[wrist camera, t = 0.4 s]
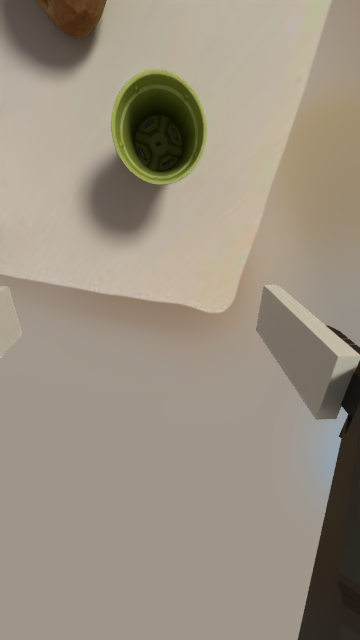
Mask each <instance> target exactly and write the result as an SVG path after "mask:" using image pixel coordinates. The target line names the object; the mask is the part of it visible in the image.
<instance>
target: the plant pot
mask: <svg viewBox="0 0 360 640" xmlns="http://www.w3.org/2000/svg"><path fill="white" fill-rule="evenodd" d="M150 121H153V122H154V123H153V124H151V125H149V126H148V127H147V128H146V129H145V128H144V127H145V125H146V124H147V123H148V122H150ZM172 128H173V129H174V130H175V131H176V134H177V137H178V139H177V140H175V137H174V134H173V132H172V131H171V129H172ZM111 130H112V137H113V142H114V145H115V148H116V151H117V153H118V155H119V157H120V159H121V160H122V162H123V163H124V165H125V166H126V167H127V168H128V169H129V170H130V171H131V172H132V173H133V174H134V175H135V176H137V177H138V178H140V179H142V180H143V181H146V182H148V183H152V184H157V185H167V184H172V183H175V182H177V181H179V180H181V179H183V178H184V177H186V176H187V175H188V174H189V173H190V172H191V171H192V170H193V169H194V168H195V167H196V165H197V164H198V162H199V160H200V158H201V156H202V154H203V151H204V148H205V144H206V137H207V124H206V117H205V113H204V109H203V107H202V104H201V102H200V100H199V98H198V96H197V94H196V93H195V91H194V90H193V89H192V87H191V86H190V85H189V84H188V83H187V82H186V81H185V80H184V79H182V78H181V77H179V76H178V75H176V74H174V73H172V72H170V71H167V70H162V69H150V70H146V71H143V72H140V73H138V74H137V75H135V76H134V77H132V78H131V79H130V80H129V81H128V82H127V83H126V84H125V85H124V86H123V88H122V89H121V91H120V92H119V94H118V96H117V98H116V101H115V104H114V107H113V112H112V119H111ZM157 142H160V143H161V145H160V146H157ZM140 149H142V150H143V153H144V155H145V157H146V158H147V159H144V158H143V157H142V155H141V153H140ZM170 159H172V162H171V163H169V164H168V165H167V166H163V164H164V163H166V162H168V161H169V160H170Z"/></svg>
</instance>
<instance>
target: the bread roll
mask: <svg viewBox="0 0 360 640" xmlns="http://www.w3.org/2000/svg"><path fill="white" fill-rule="evenodd" d="M37 1H38V3H39V4H40V6H41V7H42V8H43V10H44V11H45V12H46V13H47V15H48V16H49V17H50V18H51V20H52V21H53V22H54V23H55V25H56V26H57V27H58V28H59V29H61V30H62V31H63V32H65V33H66V34H68V35H70V36H71V37H74V38H83V37H85V36H87V35H88V34H89V33H90V32H91V31H92V30H93V29H94V28H95V26H96V25H97V23H98V21H99V20H100V17H101V15H102V13H103V10H104V7H105V4H106V0H37Z"/></svg>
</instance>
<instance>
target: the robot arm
mask: <svg viewBox="0 0 360 640" xmlns="http://www.w3.org/2000/svg"><path fill="white" fill-rule="evenodd" d="M256 330H257V332H258V333H259V335H260V336H261V338H262V339H263V341H264V342H265V344H266V345H267V347H268V348H269V350H270V351H271V353H272V354H273V356H274V357H275V359H276V360H277V362H278V363H279V365H280V366H281V368H282V369H283V371H284V372H285V374H286V375H287V376H288V378H289V380H290V381H291V383H292V384H293V386H294V387H295V389H296V390H297V392H298V393H299V395H300V396H301V398H302V399H303V401H304V402H305V404H306V405H307V407H308V408H309V410H310V411H311V413H312V414H313V415H314V417H315V419H336V418H337V415H338V413H339V410H340V408H341V406H342V407H343V408H344V409H345V411H346V412H347V413H348V416H347V419H346V421H345V423H344V426H343V428H342V430H341V433H340V435H339V437H341V438H342V439H341V444H340V448H339V453H338V457H337V462H336V467H335V471H334V476H333V480H332V485H331V490H330V494H329V499H328V503H327V508H326V513H325V518H324V522H323V527H322V531H321V536H320V541H319V545H318V549H317V554H316V559H315V564H314V568H313V573H312V577H311V582H310V586H309V591H308V596H307V601H306V605H305V609H304V614H303V619H302V624H301V628H300V632H299V637H298V640H360V347H358V346H357V345H355V344H354V343H353V342H352V341H351V340H350V339H348V338H347V337H346V336H345V335H343V334H342V333H341V332H340V331H338V330H336V329H334V328H332V327H330V326H325V325H324V324H323V323H322V322H321V321H320V320H318V319H317V318H316V317H315V316H314V315H313V314H311V313H310V312H309V311H308V310H307V309H305V308H304V307H303V306H302V305H301V304H300V303H298V302H297V301H296V300H295V299H294V298H292V297H291V296H290V295H289V294H288V293H287V292H285V291H284V290H283V289H282V288H281V287H280V286H278V285H264V287H263V293H262V299H261V305H260V310H259V316H258V322H257V328H256ZM21 335H22V331H21V328H20V324H19V321H18V317H17V314H16V310H15V307H14V304H13V300H12V297H11V293H10V290H9V287H0V358H1V357H2V356H3V355H4V354H5V353H6V352H7V351H8V349H9V348H10V347H11V346H12V345H13V344H14V343H15V342H16V341H17V340H18V338H19V337H20V336H21Z"/></svg>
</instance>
